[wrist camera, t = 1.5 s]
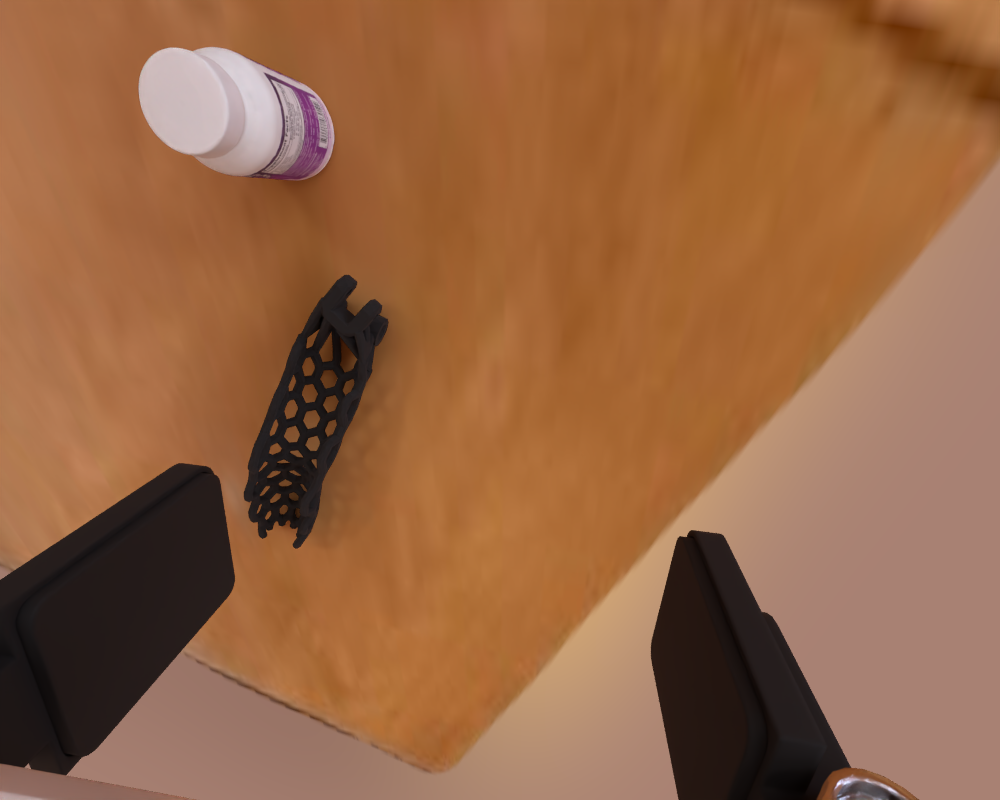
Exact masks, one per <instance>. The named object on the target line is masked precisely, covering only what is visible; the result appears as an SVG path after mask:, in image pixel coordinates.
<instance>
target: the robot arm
mask: <svg viewBox="0 0 1000 800" xmlns="http://www.w3.org/2000/svg"><path fill="white" fill-rule="evenodd" d="M234 582H235V575H234V568H233V562H232V555H231V549H230V542H229V536H228V529H227V523H226V516H225V510H224V504H223V497H222V491H221V484H220V480H219V478H218V476H216V475H214V473H213V471H212V470H211V468H209V467H207V466H200V465H192V464H184V463H178V464H176V465H174V466H172V467H171V468H169V469H168V470H166V471H165V472H163V473H162V474H160V475H159V476H157V477H156V478H154V479H153V480H151V481H150V482H148V483H147V484H145V485H143V486H142V487H140V488H139V489H137V490H136V491H134V492H133V493H131V494H130V495H128V496H127V497H125V498H124V499H122V500H121V501H119V502H118V503H116V504H115V505H113V506H112V507H110V508H109V509H107V510H106V511H104V512H103V513H101V514H99V515H98V516H96V517H95V518H93V519H92V520H90V521H89V522H87V523H86V524H84V525H83V526H81V527H80V528H78V529H77V530H75V531H74V532H72V533H71V534H69V535H68V536H66V537H65V538H63V539H62V540H60V541H59V542H57V543H55V544H54V545H52V546H51V547H49V548H48V549H46V550H45V551H43V552H42V553H40V554H39V555H37V556H36V557H34V558H33V559H31V560H30V561H28V562H27V563H25V564H24V565H22V566H21V567H19V568H18V569H16V570H15V571H13V572H11V573H10V574H8V575H7V576H5V577H4V578H2V579H1V580H0V800H194V799H189V798H184V797H179V796H173V795H168V794H163V793H158V792H152V791H147V790H141V789H136V788H131V787H125V786H120V785H114V784H109V783H103V782H97V781H92V780H87V779H81V778H77V777H71V776H66V775H67V774H68V772H69V771H70V770H71V769H72V768H73V767H74V766H75V764H76V763H77V762H78V761H79V760H80V759H81V758H82V757H84V756H87V755H89V754H90V753H92V752H93V751H95V750H96V749H97V748H98V747H99V745H100V744H101V743H102V742H103V741H104V740H105V739H106V737H107V736H108V735H109V734H110V733H111V731H112V730H113V729H114V728H115V727H116V726H117V725H118V724H119V722H120V721H121V720H122V719H123V718H124V717H125V715H126V714H127V713H128V712H129V710H131V708H132V707H133V706H134V705H135V704H136V703H137V702H138V700H139V699H140V698H141V697H142V696H143V695H144V693H145V692H146V691H147V690H148V689H149V688H150V686H151V685H152V684H153V683H154V682H155V681H156V680H157V678H158V677H159V676H160V675H161V674H162V673H163V671H164V670H165V669H166V668H167V667H168V666H169V664H170V663H171V662H172V661H173V660H174V659H175V658H176V656H177V655H178V654H179V653H180V652H181V651H182V649H183V648H184V647H185V646H186V645H187V644H188V643H189V641H190V640H191V639H192V638H193V637H194V636H195V634H196V633H197V632H198V631H199V630H200V629H201V627H202V626H203V625H204V624H205V623H206V622H207V621H208V619H209V618H210V617H211V616H212V615H213V614H214V612H215V611H216V610H217V609H218V608H219V607H220V605H221V604H222V603H223V602H224V601H225V600H226V599H227V597H228V596H229V595H230V593H231V591H232V589H233V586H234ZM651 660H652V666H653V671H654V676H655V681H656V686H657V691H658V697H659V702H660V707H661V712H662V716H663V722H664V727H665V732H666V738H667V743H668V748H669V753H670V758H671V763H672V768H673V773H674V779H675V784H676V789H677V794H678V799H679V800H919V799H917V798H916V797H915V796H913V795H912V794H911V793H910V792H908V791H907V790H906V789H905V788H903V787H901V786H900V785H898V784H896V783H894V782H893V781H891V780H889V779H887V778H886V777H884V776H881V775H879V774H876V773H873V772H870V771H867V770H864V769H857V768H851V767H850V765H849V763H848V761H847V759H846V757H845V755H844V753H843V751H842V749H841V747H840V745H839V743H838V741H837V739H836V737H835V736H834V734H833V732H832V730H831V728H830V726H829V724H828V722H827V720H826V718H825V716H824V714H823V712H822V710H821V709H820V706H819V705H818V703H817V701H816V699H815V697H814V695H813V693H812V691H811V689H810V687H809V685H808V683H807V681H806V679H805V677H804V675H803V673H802V671H801V670H800V668H799V666H798V664H797V662H796V660H795V658H794V656H793V654H792V652H791V650H790V648H789V646H788V644H787V642H786V640H785V638H784V636H783V635H782V633H781V631H780V629H779V627H778V625H777V623H776V622H775V620H774V619H773V617H772V616H770V615H769V614H768V613H765V612H761V610H760V608H759V606H758V604H757V602H756V600H755V598H754V596H753V594H752V592H751V590H750V588H749V586H748V584H747V582H746V579H745V578H744V576H743V573H742V571H741V569H740V567H739V565H738V563H737V561H736V559H735V557H734V555H733V553H732V551H731V549H730V547H729V545H728V543H727V541H726V539H725V538H724V536H723V535H722V534H717V533H709V532H701V531H694V530H691V531H690V532H689V533H688V535H687V537H681V536H680V537H679V538H678V540H677V542H676V546H675V549H674V553H673V557H672V561H671V565H670V570H669V573H668V577H667V581H666V585H665V590H664V593H663V597H662V601H661V606H660V609H659V613H658V617H657V622H656V625H655V630H654V634H653V637H652V643H651ZM28 763H29V765H30V767H31V769H28V768H24V767H25V766H26V765H27V764H28Z"/></svg>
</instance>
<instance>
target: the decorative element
mask: <svg viewBox="0 0 1000 800" xmlns="http://www.w3.org/2000/svg"><path fill="white" fill-rule="evenodd" d="M356 285H357V281H355V280H354V279H353V278H352V277H351V276H350V275H344V276H343V277H341V278H340V279H339V280H337V281H336V283H335V284H334V285H333V286H332V288H331V289H330V290H329V291H328V293H327V294H326V295H325V296H324V297H323V298H321V299H320V301H319V302H318V304H317V306H316V307H315V309H314V310H313V312H312V313H311V315H310V317H309V319H308V321H307V323H306V325H305V327H304V329H303V331H302V333H301V334H299V335H298V337H297V339H296V341H295V343H294V345H293V347H292V349H291V352H290V355H289V357H288V360H287V364H286V368H285V371H284V373H283V376H282V378H281V381H280V383H279V386H278V388H277V390H276V392H275V394H274V396H273V399H272V401H271V404H270V406H269V409H268V412H267V415H266V418H265V420H264V423H263V425H262V428H261V430H260V433H259V435H258V437H257V440H256V442H255V444H254V447H253V450H252V453H251V457H250V460H249V463H248V470H249V477H248V482H247V485H246V488H245V491H244V499H245V501H247V502H250V501H251V505H250V508H249V511H248V514H249V518H250V521H252V522H253V523H254V522H258V533H259V536H260V537H261V538H262V539H263V538H265V537H266V536H267V532H266V530H268V531H269V530H272V529H273V525H274V523H275V522H276V521H278V524H279V526H284V525H285V524H286V522H287V521H288V520H289V521H290V523H291V524H290V527H291V528H292V529H296V528H297V527H298V530H297V533H296V536H297V539H296V540H295V541H294V543H293V547H294V548H295V549H297V548H299V547H301V545H302V544H303V542H304V541H305V539H306V538H307V537H308V535H309V534H310V532H311V530H312V527H313V525H314V522H315V519H316V517H317V514H318V510H319V503H320V495H321V488H322V482H323V480H324V477H325V475H326V473H327V471H328V470H329V468H330V466H331V465H332V463H333V461H334V459H335V457H336V455H337V453H338V450H339V448H340V446H341V442H342V438H343V436H344V434H345V432H346V430H347V428H348V426H349V424H350V423H351V421H352V419H353V417H354V415H355V412H356V410H357V408H358V405H359V402H360V399H361V396H362V393H363V390H364V387H365V385H366V382H367V380H368V379H369V377H370V375H371V373H372V363H373V356H374V349H375V346H377V345H378V344H379V343H380V342H381V340H382V338H383V336H384V334H385V332H386V330H387V326H388V323H389V322H388V319H386V318H384V317H382V316H380V315H379V314H380V313H381V310H382V305H381V304H380V303H379V302H378V301H377V300H375V299H374V300H370V301H369V302H368V303H367V304H366V305H365V306H364V307H363V308H362V309H361V310H360V311H359V313H358V314H357V315H356V316H354V315H353V314H352V313H351V312H349V311H348V310H347V309H346V308H347V301H346V299H347V298H348V296H349V295H350V294H351V293H352V292H353V290H354V289H355V288H356ZM319 329H320V330H319ZM317 330H319V332H318V334H317V337H316V339H315V341H314V343H313V346H312V347H310V348H306V343H307V338H308V337H309V336H310V335H312V334H313V333H315V332H316V331H317ZM331 331H332V345H333V360H332V361H328V362H322V359H321V357H320V354H319V351H320V349H321V348H322V346H323V345H324V343H325V341H326V340H327V338H328V336H329V335H330V333H331ZM340 337H341V338H342V340H343V341H344V342H345V344H346V345H347V346H348V348H349V349H350V350H351V351H352V353H353V354H354V355H355V357H356V358H357V359H358V360H357V361H356V363H355V365H354V368H353V369H352V370H351V371H348V372H346V373H345V372H344V371H343V369H342V367H341V366H340V362H341V343H340ZM308 357H311V359H312V361H313V363H314V365H315V370H314V372H313V374H312V375H311V376H304V373H303V370H302V366H303V363H304V361H305V359H306V358H308ZM324 370H333V371H334V373H335V374H336V376H337V378H338V379H337V381H336V384H335V386H334V387H331V388H327V389H325V387H324V385H323V383H322V381H321V380H320V378H321V376H322V373H323V371H324ZM293 375H294V376H295V379H296V384H295V386H294V388H293V390H292V391H289V388H288V386H289V384H290V381H291V379H292V377H293ZM351 379H354V386H353V389H352V391H351V392H349V393H348V394H347V395H346V396H345V394H344V392H343V387H344V385H345V383H346V381H349V380H351ZM309 384H313V385H314V387H315V389H316V391H317V393H318V395H317V398H316V400H315V402H310V403H306V402H305V400H304V398H303V396H302V391H303V388H304V386H305V385H309ZM333 395H335V396H336V397H337V399H338V401H339V402H338V405H337V407H336V410H335V411H332V412H329V413H327V411H326V409H325V408H324V406H323V404H324V402H325V399H326V397H329V396H333ZM293 399H294V400H295V402H296V404H297V406H298V410H297V412H296V415H295V417H293V418H290V419H286V416H285V413H284V410H285V407H286V405H287V403H288V402H289V401H290V400H293ZM312 410H316V411H317V413H318V415H319V416H320V421H319V423H318V425H317V427H315V428H311V429H307V427H306V425H305V424H304V422H303V419H304V417H305V414H306V412H307V411H312ZM276 419H277V422H278V427H277V430H276V432H275V434H274V435H272V436H270V431H271V428H272V426H273V423H274V421H275V420H276ZM335 419H336V423H337V426H336V428H335V430H334V433H333V434H332V435H330V436H328V437H327V434H326V432H325V429H326V427H327V424H328V422H329V421H332V420H335ZM292 426H296V427H297V429H298V431H299V433H300V436H299V439H298V441H297V442H291V443H289V442H288V441H287V440H286V439H285V437H284V435H285V432H286V430H287V428H289V427H292ZM314 436H318V438H319V440H320V445H319V447H318V449H317V451H310V450H309V449H308V448H307V447H306V446H305V445H306V442H307V440H308V438H310V437H314ZM275 443H278V444H279V445H280V447H281V448H282V450H281V452H278V453H276V454H274V455H272V454H269V450H270V447H271V445H273V444H275ZM295 450H298V451H299V452H300V453H301V454H302V456H303V457H304V458H302V457H296V456H295V455H293V454H291V453H290V451H295ZM283 459H284V460H286V461H288V462H290V463H277V462H278V461H281V460H283ZM312 459H317V468H316V467H315V466H314V464H313V463H312V461H311V460H312ZM265 461H266V462H268V464H267V465H266V466H265V467H264V468H263V469H262V470H261V471H260V472H259V470H260V468H261V467H262V465H263V463H264V462H265ZM292 470H295V471H296V472H297V473H299V474H300V475H301V476H297V475H295V474H293V473H291V472H289V471H292ZM272 471H281V473H279V474H278V475H276V476H274V477H272V478H267V476H268V475H269V474H270V473H271V472H272ZM285 479H286V480H288V481H290V482H292V485H289V486H284V487H282V486H279V483H280V482H281V481H283V480H285ZM257 482H258V483H257ZM256 483H257V485H256ZM300 484H303V485H304V486H305V488H306V489H307V492H306V491H304V490H303V488H302V487H301V485H300ZM266 486H270V488H269V489H268V490H267V492H266V493H265V494H264V495H262V496H260V494H261V492H262V491H263V489H264V488H265V487H266ZM292 492H295V493H296V494H297V495H298V496H299V499H298V500H297V501H294V500H292V499H290V498H289V493H292ZM276 493H278V494H281V498H280V499H278V500H277V501H276V502H274V503H270V499H271V498H272V497H273V496H274V495H275V494H276ZM260 504H262V506H261V509H260V511H259V513H258V514H257V510H258V507H259V505H260ZM283 505H287V506H288V511H287V512H286V513H285V514H280V508H281V507H282V506H283ZM296 508H299V509H300V514H301V515H300V518H297V517H296V514H295V511H296ZM269 511H271V516H270V517H269V519H267V520H266V519H265V516H266V514H267V513H268V512H269Z"/></svg>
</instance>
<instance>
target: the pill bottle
mask: <svg viewBox="0 0 1000 800" xmlns="http://www.w3.org/2000/svg"><path fill="white" fill-rule="evenodd" d="M139 99H140V104H141V108H142V111H143V114H144V116H145V118H146V120H147V122H148V124H149V126H150V127H151V129H152V130H153V131H154V133H155V134H156V135H157V136H158V137H159V138H160V139H161V140H162V141H163V142H164V143H165V144H166V145H168V146H169V147H171V148H172V149H174V150H176V151H178V152H180V153H183V154H187V155H192V156H194V157H195V158H196V159H197V160H198V161H200V162H201V163H202V164H204V165H205V166H207V167H209V168H211V169H213V170H215V171H217V172H220V173H223V174H227V175H232V176H244V177H252V178H254V177H255V178H268V179H281V180H304V179H308V178H311V177H312V176H315V175H316V174H318V173H319V172H320V171H321V170H322V169H323V168H324V167H325V166H326V164H327V163H328V161H329V159H330V157H331V154H332V150H333V145H334V129H333V123H332V120H331V117H330V115H329V113H328V110H327V108H326V106H325V105H324V103H323V102H322V100H321V99H320V97H319V96H318V95H317V94H316V93H315V92H314V91H313V90H311V89H310V88H309V87H307V86H306V85H304V84H302V83H300V82H298V81H296V80H294V79H292V78H290V77H288V76H285V75H283V74H281V73H279V72H276V71H274V70H272V69H270V68H268V67H265V66H263V65H261V64H259V63H257V62H255V61H253V60H251V59H249V58H246V57H245V56H243V55H241V54H239V53H236V52H234V51H231V50H228V49H224V48H218V47H206V48H201V49H197V50H195V51H190V50H186V49H182V48H166V49H162V50H160V51H158V52H156V53H155V54H153V55H152V56H151V57H150V58H149V59H148V60H147V62H146V63H145V65H144V67H143V69H142V71H141V74H140V78H139Z"/></svg>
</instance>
